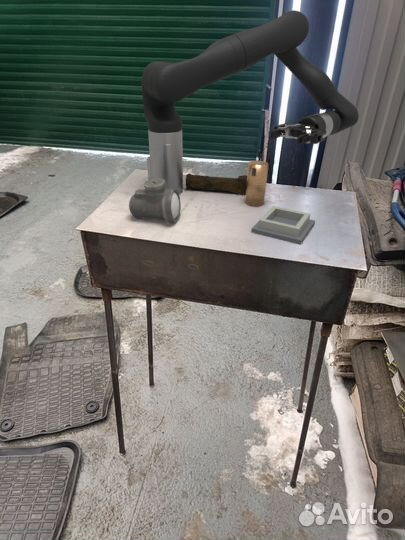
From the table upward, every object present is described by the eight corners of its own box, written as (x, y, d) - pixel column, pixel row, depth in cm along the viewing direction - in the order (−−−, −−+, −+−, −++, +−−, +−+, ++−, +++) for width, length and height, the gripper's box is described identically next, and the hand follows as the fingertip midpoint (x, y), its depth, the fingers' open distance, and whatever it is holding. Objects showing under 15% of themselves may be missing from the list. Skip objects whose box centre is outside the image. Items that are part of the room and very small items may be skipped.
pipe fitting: (184, 212, 98) (178, 174, 92) (175, 228, 92) (168, 189, 86) (141, 212, 101) (133, 175, 95) (130, 227, 95) (120, 189, 89)
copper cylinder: (241, 204, 104) (245, 164, 98) (249, 198, 108) (252, 159, 102) (259, 208, 102) (263, 167, 96) (266, 201, 106) (271, 162, 100)
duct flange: (251, 232, 90) (252, 220, 89) (268, 214, 99) (270, 203, 98) (300, 244, 85) (302, 232, 84) (314, 224, 94) (316, 213, 93)
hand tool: (184, 191, 112) (183, 173, 109) (188, 186, 116) (188, 168, 113) (260, 200, 108) (262, 181, 105) (262, 194, 112) (264, 176, 109)
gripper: (296, 111, 116) (264, 119, 106) (339, 118, 107) (310, 127, 98) (292, 136, 120) (262, 146, 110) (334, 145, 112) (305, 157, 102)
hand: (284, 137), depth 104 cm, fingers open, 8 cm apart
